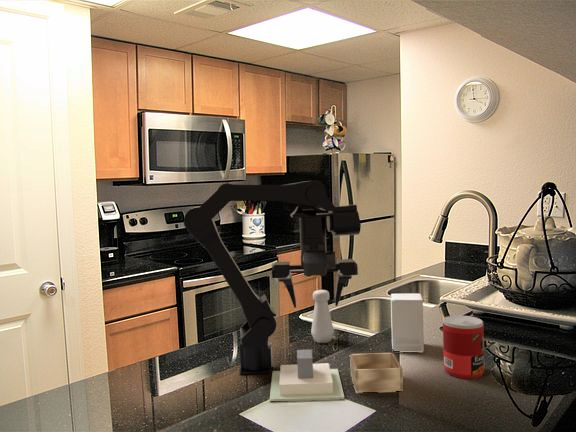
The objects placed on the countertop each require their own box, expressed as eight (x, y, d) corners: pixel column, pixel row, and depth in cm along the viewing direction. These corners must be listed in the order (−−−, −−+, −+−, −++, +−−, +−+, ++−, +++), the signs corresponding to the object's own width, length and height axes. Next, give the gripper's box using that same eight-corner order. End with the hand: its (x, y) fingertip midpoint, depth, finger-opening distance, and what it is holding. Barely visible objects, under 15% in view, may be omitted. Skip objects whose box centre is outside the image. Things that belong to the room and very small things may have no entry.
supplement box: (424, 353, 114) (423, 300, 113) (392, 352, 116) (390, 299, 115) (422, 343, 121) (421, 292, 120) (391, 342, 123) (390, 292, 122)
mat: (269, 402, 92) (269, 399, 92) (272, 373, 106) (272, 371, 106) (344, 399, 92) (344, 396, 92) (337, 371, 106) (337, 368, 106)
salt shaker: (308, 343, 125) (306, 292, 124) (315, 336, 130) (313, 287, 130) (330, 344, 123) (328, 293, 122) (336, 337, 128) (334, 288, 127)
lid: (279, 394, 94) (278, 364, 93) (281, 374, 104) (279, 346, 104) (333, 392, 94) (331, 362, 93) (329, 372, 104) (328, 344, 103)
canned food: (480, 382, 97) (479, 327, 96) (439, 375, 101) (438, 322, 100) (487, 368, 103) (486, 317, 103) (448, 362, 108) (447, 313, 107)
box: (356, 393, 94) (355, 370, 94) (350, 375, 103) (349, 354, 103) (403, 391, 94) (402, 368, 94) (393, 373, 103) (392, 352, 103)
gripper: (269, 243, 101) (272, 317, 102) (359, 239, 101) (362, 314, 102) (271, 237, 112) (274, 304, 113) (353, 234, 112) (355, 301, 113)
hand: (315, 306), depth 110 cm, fingers open, 9 cm apart
